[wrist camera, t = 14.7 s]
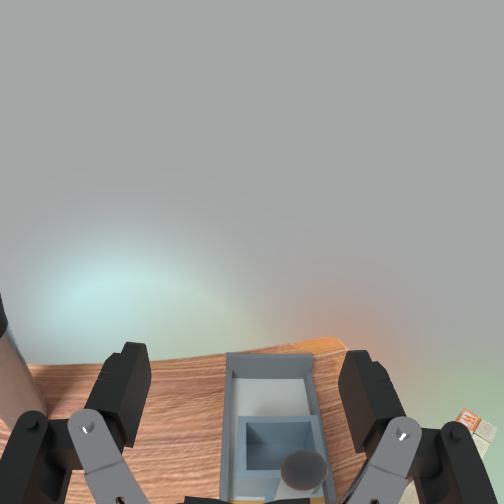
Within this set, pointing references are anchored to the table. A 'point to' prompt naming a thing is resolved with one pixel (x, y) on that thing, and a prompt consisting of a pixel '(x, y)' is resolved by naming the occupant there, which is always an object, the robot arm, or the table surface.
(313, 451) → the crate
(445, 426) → the robot arm
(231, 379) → the crate bay
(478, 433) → the stack of blocks
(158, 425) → the table surface
